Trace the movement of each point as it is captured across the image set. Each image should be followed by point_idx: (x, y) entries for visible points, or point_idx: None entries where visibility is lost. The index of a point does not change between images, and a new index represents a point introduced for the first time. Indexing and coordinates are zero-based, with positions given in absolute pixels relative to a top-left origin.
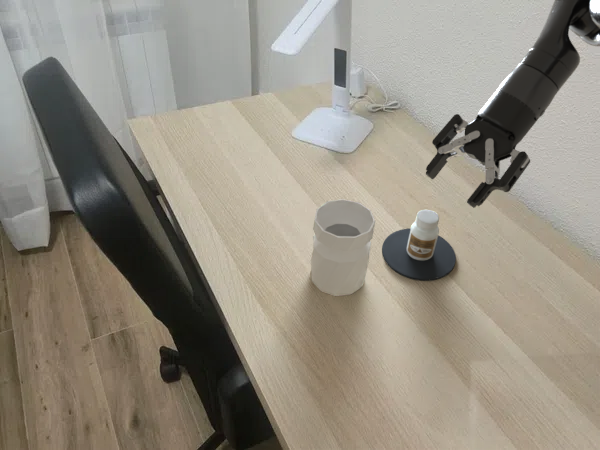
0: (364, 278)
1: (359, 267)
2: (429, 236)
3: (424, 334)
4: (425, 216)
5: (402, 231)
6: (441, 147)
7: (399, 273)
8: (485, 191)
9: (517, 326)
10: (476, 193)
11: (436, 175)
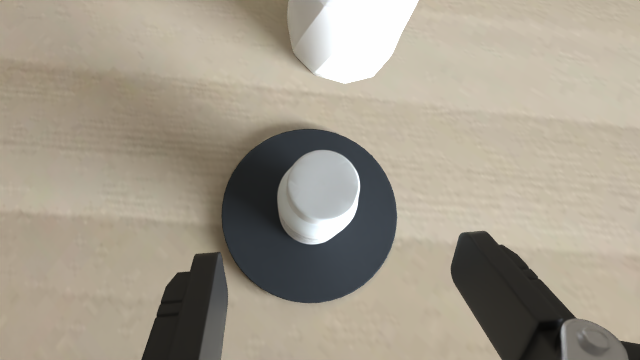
0: (295, 44)
1: None
2: (283, 179)
3: (133, 75)
4: (327, 176)
5: (389, 225)
6: (619, 353)
7: (283, 133)
8: (155, 341)
9: (9, 252)
10: (191, 292)
11: (461, 293)
